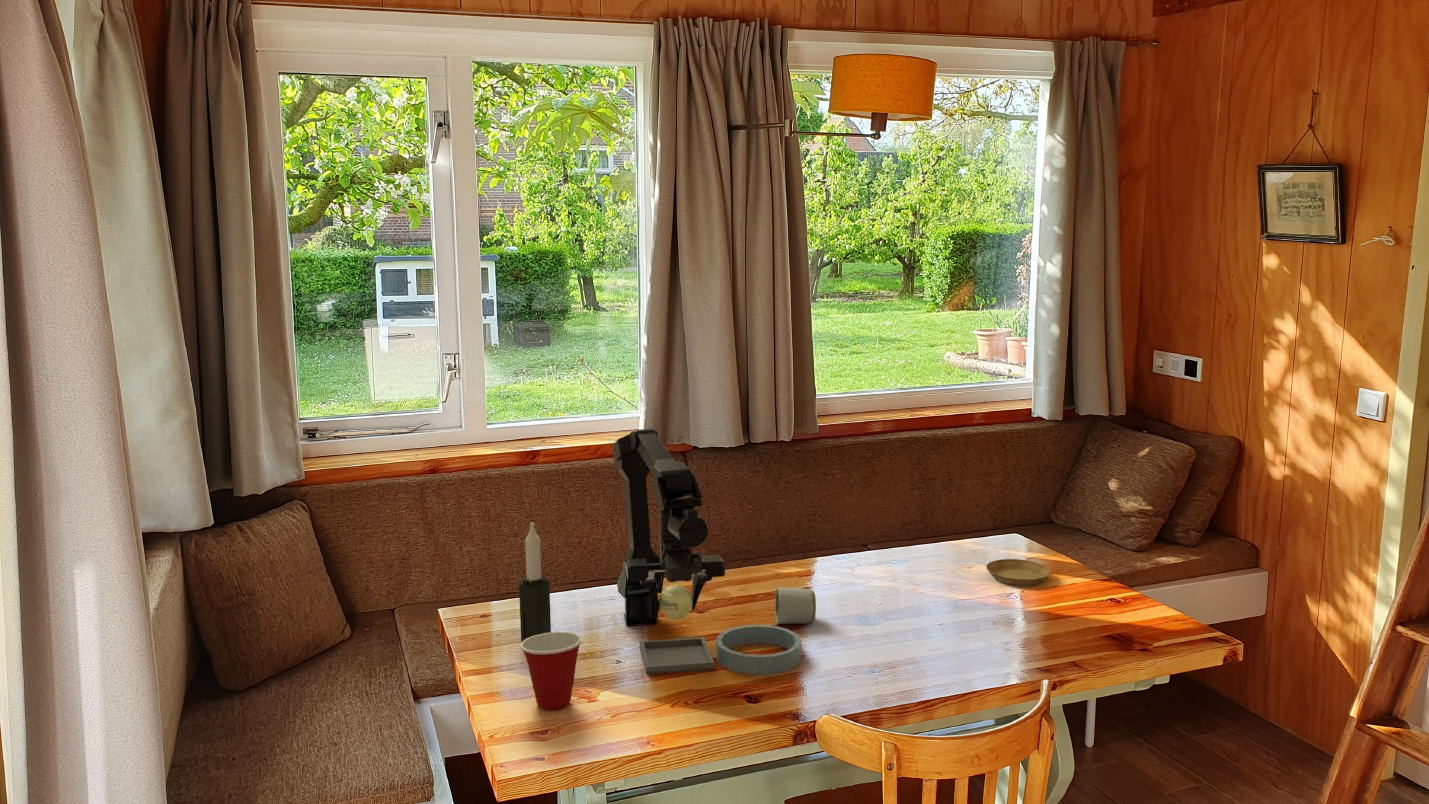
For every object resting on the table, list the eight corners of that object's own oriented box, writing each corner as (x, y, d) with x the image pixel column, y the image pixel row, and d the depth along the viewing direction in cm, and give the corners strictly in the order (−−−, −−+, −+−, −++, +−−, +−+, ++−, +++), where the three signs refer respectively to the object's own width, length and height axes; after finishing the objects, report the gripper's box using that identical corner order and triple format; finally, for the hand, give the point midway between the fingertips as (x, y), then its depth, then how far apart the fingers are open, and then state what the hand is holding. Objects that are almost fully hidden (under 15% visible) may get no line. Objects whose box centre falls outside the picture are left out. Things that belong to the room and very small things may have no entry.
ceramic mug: (817, 628, 230) (817, 592, 229) (778, 629, 229) (778, 593, 228) (809, 611, 240) (809, 577, 239) (772, 612, 240) (772, 578, 239)
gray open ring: (724, 677, 205) (724, 659, 205) (710, 644, 221) (710, 627, 221) (809, 671, 208) (809, 653, 207) (790, 638, 224) (790, 622, 223)
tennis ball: (652, 584, 211) (681, 590, 207) (671, 579, 217) (700, 584, 213) (651, 617, 211) (680, 623, 208) (670, 611, 217) (698, 617, 213)
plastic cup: (562, 685, 202) (560, 623, 200) (595, 704, 194) (594, 640, 192) (510, 702, 195) (508, 638, 193) (543, 723, 187) (541, 656, 185)
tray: (646, 674, 207) (646, 667, 206) (639, 648, 219) (639, 641, 219) (714, 669, 209) (714, 662, 208) (704, 644, 221) (704, 637, 221)
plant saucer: (1060, 577, 261) (1061, 567, 261) (1033, 594, 250) (1033, 583, 250) (1003, 565, 271) (1003, 555, 270) (974, 580, 260) (975, 569, 259)
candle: (553, 638, 225) (549, 520, 221) (541, 647, 220) (537, 526, 216) (531, 635, 227) (526, 518, 223) (519, 644, 222) (514, 524, 218)
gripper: (629, 547, 201) (630, 628, 203) (729, 542, 203) (730, 622, 206) (624, 530, 211) (626, 607, 214) (720, 525, 214) (720, 601, 217)
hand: (675, 610), depth 212 cm, fingers closed on tennis ball, 6 cm apart
